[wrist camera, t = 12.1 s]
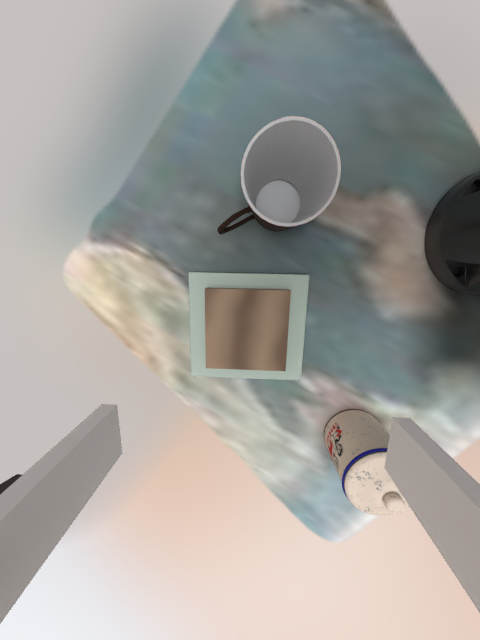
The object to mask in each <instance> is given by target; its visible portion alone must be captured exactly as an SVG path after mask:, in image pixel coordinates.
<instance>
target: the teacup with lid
mask: <svg viewBox="0 0 480 640" xmlns="http://www.w3.org/2000/svg"><path fill="white" fill-rule="evenodd" d="M389 437H390V435H389V434H388V433H387V432H386V430H385V429H384V428H383V427H382V426H381V424H380V423H379V422H378V421H377V420H376V419H375V418H374V417H373V416H372V415H370V414H369V413H367V412H364V411H360V410H348V411H344V412H341V413H339V414H337V415H336V416H334V417H333V418H332V419H331V420H330V421H329V423H328V424H327V426H326V428H325V432H324V440H325V443H326V446H327V448H328V451H329V453H330V455H331V458H332V460H333V462H334V465H335V467H336V469H337V472H338V474H339V476H340V479H341V481H342V487H343V491H344V493H345V495H346V497H347V498H348V499H349V501H350V502H351V503H352V504H353V505H354V506H355V507H357V508H358V509H360V510H361V511H363V512H366V513H368V514H372V515H379V516H383V515H391V514H396V513H400V512H402V511H403V510H405V509H406V508H408V507H409V505H408V503H407V501H406V500H405V498H404V497H403V495H402V494H401V492H400V491H399V489H398V488H397V486H396V485H395V483H394V482H393V480H392V479H391V477H390V476H389V474H388V473H387V471H386V470H385V468H384V466H385V460H386V455H387V449H388V443H389Z"/></svg>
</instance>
